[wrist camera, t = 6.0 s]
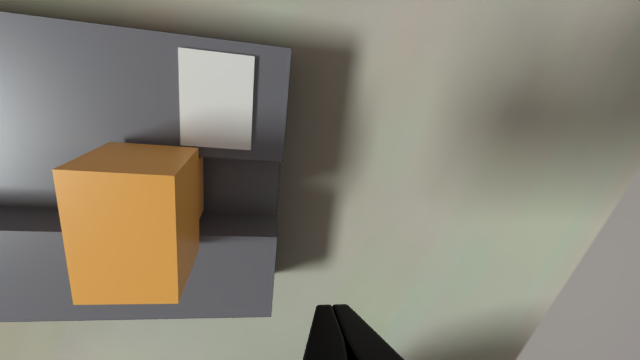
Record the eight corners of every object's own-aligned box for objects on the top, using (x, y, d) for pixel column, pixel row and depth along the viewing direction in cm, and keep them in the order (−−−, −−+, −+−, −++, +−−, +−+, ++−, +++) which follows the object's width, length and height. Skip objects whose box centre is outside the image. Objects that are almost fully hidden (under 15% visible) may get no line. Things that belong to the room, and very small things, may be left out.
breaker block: (286, 52, 17) (291, 48, 14) (270, 274, 22) (271, 319, 18) (-151, -2, 14) (-311, -29, 10) (-66, 272, 19) (-156, 328, 15)
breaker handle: (208, 136, 16) (174, 175, 10) (208, 225, 18) (178, 304, 12) (133, 130, 16) (52, 169, 10) (140, 223, 17) (73, 305, 11)
